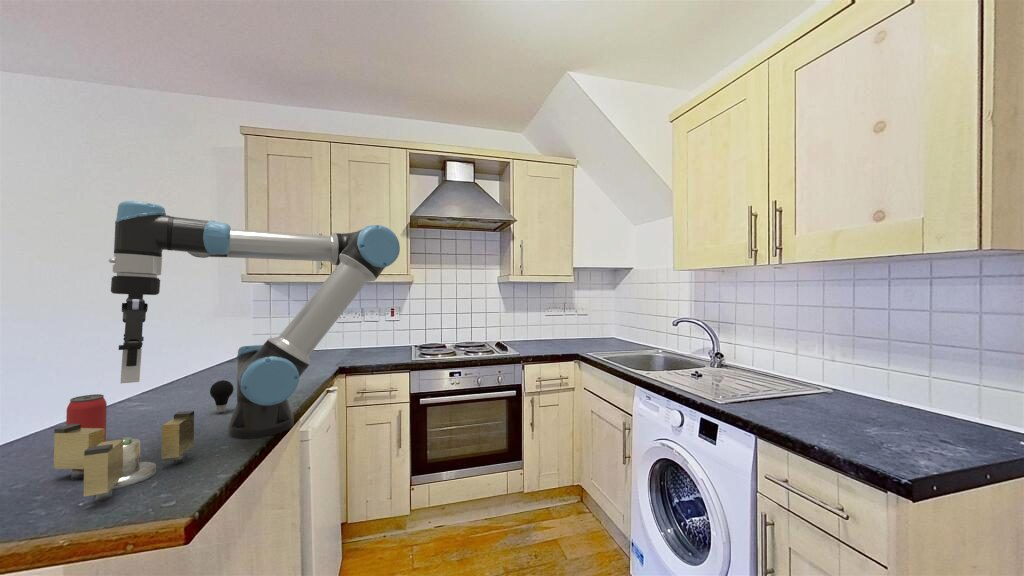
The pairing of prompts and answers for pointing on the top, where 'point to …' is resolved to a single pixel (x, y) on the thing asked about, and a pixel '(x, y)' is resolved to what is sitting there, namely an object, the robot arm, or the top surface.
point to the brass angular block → (102, 467)
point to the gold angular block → (178, 434)
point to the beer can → (88, 412)
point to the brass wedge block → (74, 445)
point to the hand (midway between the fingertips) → (129, 376)
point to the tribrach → (129, 468)
